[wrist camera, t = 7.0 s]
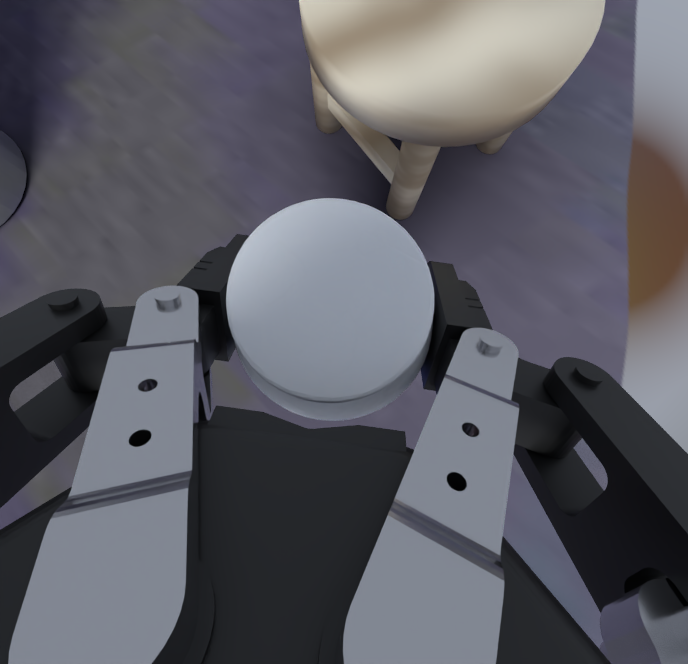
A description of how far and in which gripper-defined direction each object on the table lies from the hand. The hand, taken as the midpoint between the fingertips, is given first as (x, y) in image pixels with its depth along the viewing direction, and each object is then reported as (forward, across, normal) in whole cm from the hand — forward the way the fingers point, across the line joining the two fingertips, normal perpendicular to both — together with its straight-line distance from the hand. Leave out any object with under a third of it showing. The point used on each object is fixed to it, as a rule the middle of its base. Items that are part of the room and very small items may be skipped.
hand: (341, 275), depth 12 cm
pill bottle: (+2, 0, +5) cm, 5 cm away
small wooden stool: (+19, -3, -2) cm, 20 cm away
